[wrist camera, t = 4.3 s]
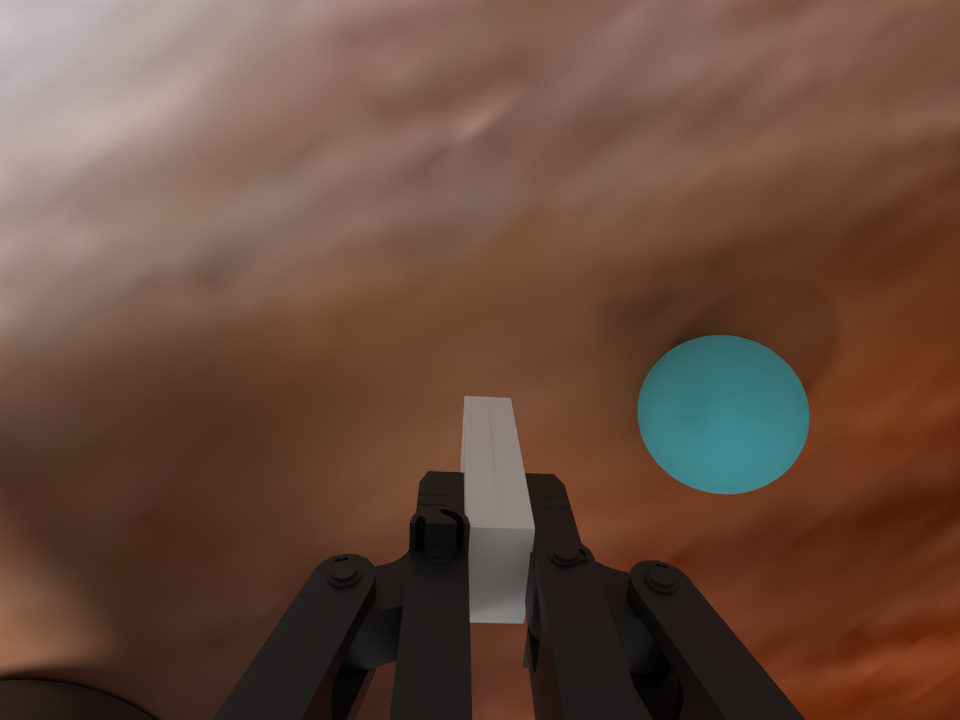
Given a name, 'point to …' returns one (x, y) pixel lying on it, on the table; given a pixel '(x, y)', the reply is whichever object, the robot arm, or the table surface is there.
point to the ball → (723, 414)
